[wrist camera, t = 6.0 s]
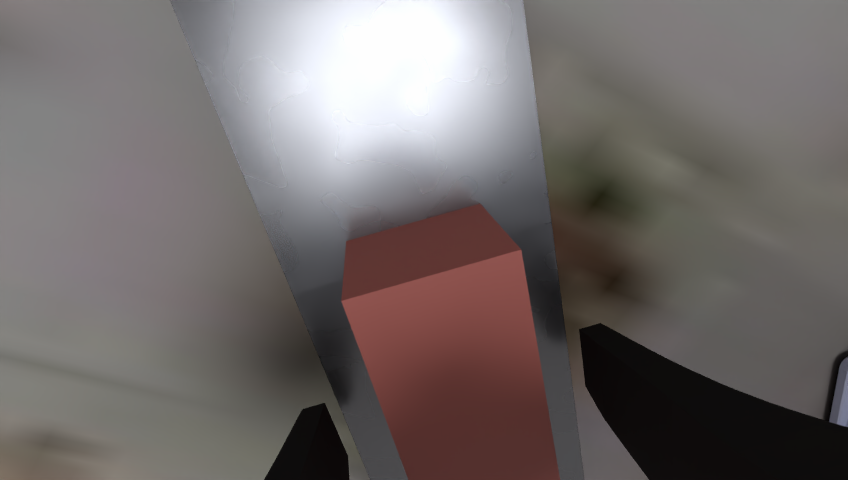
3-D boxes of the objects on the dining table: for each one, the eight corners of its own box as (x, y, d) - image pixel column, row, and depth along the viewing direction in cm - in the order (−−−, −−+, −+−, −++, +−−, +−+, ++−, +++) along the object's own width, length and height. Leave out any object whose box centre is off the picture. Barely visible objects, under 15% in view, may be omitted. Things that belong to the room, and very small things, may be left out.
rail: (477, -71, 11) (509, -109, 8) (566, 500, 19) (594, 558, 17) (204, -3, 11) (160, -23, 8) (417, 545, 19) (425, 611, 17)
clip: (462, 183, 13) (521, 249, 8) (510, 408, 16) (570, 542, 12) (348, 216, 13) (340, 300, 8) (421, 434, 16) (446, 581, 11)
